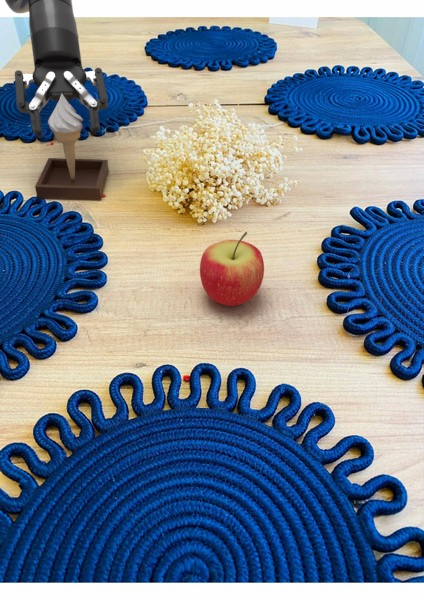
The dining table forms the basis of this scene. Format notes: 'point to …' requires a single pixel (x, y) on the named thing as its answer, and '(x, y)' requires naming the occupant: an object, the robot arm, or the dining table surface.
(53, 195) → the tray
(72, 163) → the ice cream cone
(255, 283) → the apple
